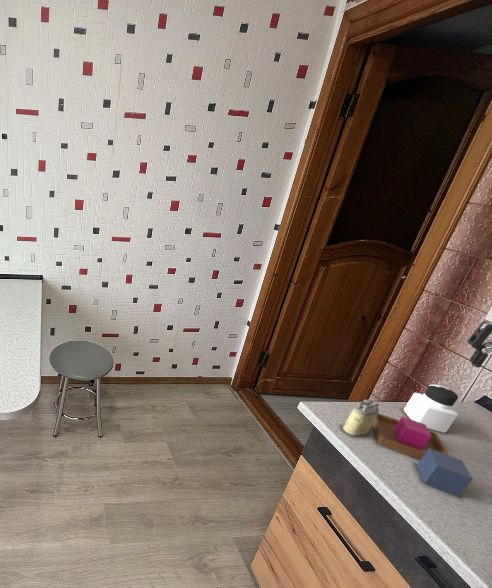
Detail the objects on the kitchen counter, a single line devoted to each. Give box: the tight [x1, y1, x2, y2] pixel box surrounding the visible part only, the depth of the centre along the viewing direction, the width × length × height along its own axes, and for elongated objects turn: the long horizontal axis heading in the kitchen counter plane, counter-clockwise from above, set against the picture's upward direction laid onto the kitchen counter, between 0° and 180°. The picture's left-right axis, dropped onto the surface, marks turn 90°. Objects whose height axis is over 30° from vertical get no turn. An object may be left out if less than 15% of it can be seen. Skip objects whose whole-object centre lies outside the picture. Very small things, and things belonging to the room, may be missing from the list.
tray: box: [372, 412, 449, 461], centre depth 90 cm, size 14×12×2 cm
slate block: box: [416, 448, 474, 497], centre depth 79 cm, size 6×6×6 cm
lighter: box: [342, 399, 380, 437], centre depth 91 cm, size 7×4×10 cm, turn 105°
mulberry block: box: [393, 416, 432, 450], centre depth 90 cm, size 5×5×5 cm
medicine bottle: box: [403, 383, 459, 434], centre depth 96 cm, size 7×7×12 cm
